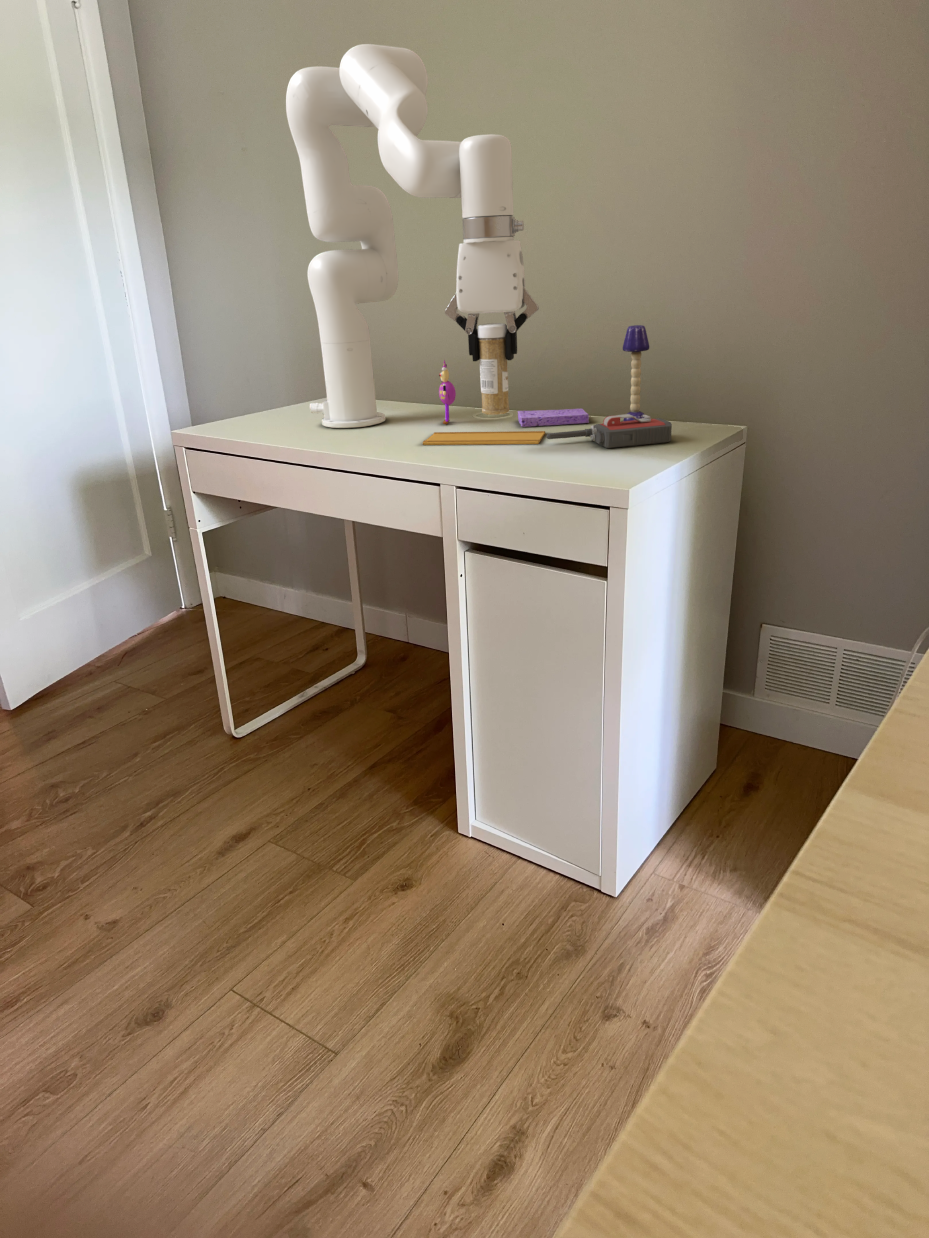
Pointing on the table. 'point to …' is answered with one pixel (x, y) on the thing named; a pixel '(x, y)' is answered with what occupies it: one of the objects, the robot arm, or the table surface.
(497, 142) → the robot arm
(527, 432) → the wooden board
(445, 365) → the purple clown figurine
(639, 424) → the walkie-talkie
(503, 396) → the brown spice jar
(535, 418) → the sponge
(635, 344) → the toy lamp
